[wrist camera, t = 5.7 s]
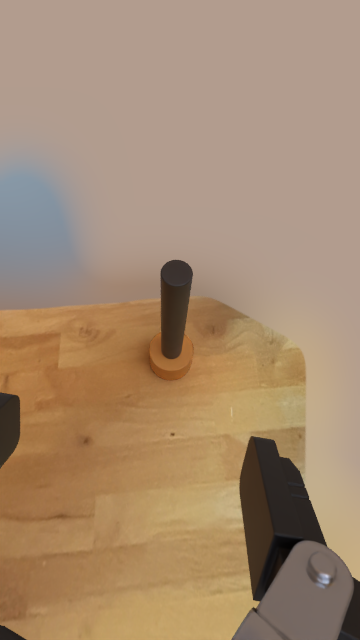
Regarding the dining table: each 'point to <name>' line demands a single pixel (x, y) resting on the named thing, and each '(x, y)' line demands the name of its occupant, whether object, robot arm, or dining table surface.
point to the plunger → (173, 323)
